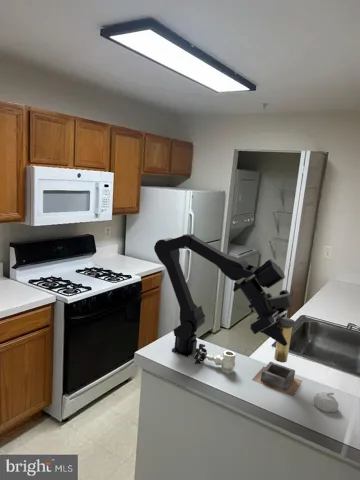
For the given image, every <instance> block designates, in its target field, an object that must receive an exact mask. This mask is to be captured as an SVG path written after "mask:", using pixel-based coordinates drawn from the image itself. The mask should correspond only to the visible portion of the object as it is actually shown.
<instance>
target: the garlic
mask: <svg viewBox="0 0 360 480" xmlns="http://www.w3.org/2000/svg"><path fill="white" fill-rule="evenodd" d="M334 396H335V393H334V392H318V393H316V395H315V396H314V398H313V406H315V407H316V408H317V409H318V410H321V411H322V412H324V413H335V412H337V411H339V403H338V401H337V400H336V398H335V397H334Z"/></svg>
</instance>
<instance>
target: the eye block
mask: <svg viewBox="0 0 360 480" xmlns="http://www.w3.org/2000/svg"><path fill="white" fill-rule="evenodd" d="M295 375H296V370H295V369H293V368H290V367H287V366H284V365H281V364H278V363H276V362H273V361H269V362H268V364H266V366H262V367H261V369H259V371H258V372H257V373H256V375H254V377H252V379H251V381H253V382H255V383H258V384H262V385H263V386H266V387H269V388H271V389H274V390H276V391H279V392H281V393H284V394H286V395H289V396H291V397H294V396H295V394H296V392H297V391H298V389H299V387H300V386H301V384H302V382H303V380H301V379H299V378H296V377H295Z"/></svg>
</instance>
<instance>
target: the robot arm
mask: <svg viewBox="0 0 360 480" xmlns="http://www.w3.org/2000/svg"><path fill="white" fill-rule="evenodd" d="M183 248H187V249H189V250H191V251H192V252H194V253H195V254H197V255H199V256H201V257H202V258H204V259H206V260H207V261H209V262H211V263H212V264H214V265H215V266H216V267H218V268H219V270H220V272H221V273H223V274H224V275H225V276H226V277H227V278H228V279H230V280H231V281H234V283H233V284H234V285H233V289H232V291H233V292H234V293H235V292H238V291H241V293H242V294H243V296H244V297H245V299H246V301H247V302H248V303H249V305H248V307H249V309H253V310H254V312H255V313H256V315H257V317H256V320H255V321H253V322H252V323H251V324H250V330H251V332H252V334H253V335H256V334H258V333H261V334H264V335H266V336H267V337H269V338H271V339H273V340H274V341H276V343H277V342H279V343H280V344H282V345H283V346H286V345H287V342H286V339H285V338H284V336H283V334H282V332H281V330H280V328H279V321H280V320H278V318H280V317H285V318H287V316H288V315H287V314H288V312H287V311H288V310H290V308H291V306H293V305H294V302H293V298H294V296H293V295H292V293H291V292H289V291H288V290H287V289H282V290H280V291H279V294H277V295H275V296H274V295H273V296H272V293H269V292H266V291H265V289H264V288H267V289H271V288H272V287H274V285H276V284H278V283H279V282H281V281H282V280H284V279H285V278H286V276H285V273H284V271H283V270H282V268H281V267H280V266H278V264H277V263H275V262H274V261H273V260H272V259H271V258H269V259H268V260H266V261H265V262H264V263H263V264H262V265H261V266H259V267H257V266H256V265H252V264H249V263H248V261H247V260H245V259H243V258H240V257H238V256H234V255H231V254H227V253H224V252H222V251H221V250H219V249H217V248H215V247H214V246H212V245H210V244H209V243H208V242H206V241H204V240H202V239H200V238H199V237H197V236H196V235H194V234H193V233H185V234H183V235H181V236H177V237H175V238H172V237H168V238H163V239H162V238H161V239H158V240H157V241H156V242H155V245H154V246H153V250H154V253H155V254H156V256H157V258H158V260H159V262H161V264H162V265H163V266H164V267H165V268H166V272H167V274H168V277H169V280H170V283H171V287H172V289H173V292H174V294H175V297H176V300H177V303H178V306H179V323H180V324H179V325H178V326H176V327H175V328H174V329H173V331H172V332H173V334H174V335H173V336H174V337H175V339H174V347H172V348H171V351H172V352H174V353H176V354H178V355H181V356H183V357H186V358H189V357H190V356H192V355H193V354H194V353H197V352H196V349H197V346H198V340H197V334H196V332H198V331H199V330H200V329H201V328H203V326H204V325H205V323H206V321H205V318H206V315H205V313H204V311H203V307H202V305H199V306H198V305H197V304H195V302H194V300H193V297H192V295H191V291H190V289H189V286H188V283H187V280H186V277H185V275H184V272H183V269H182V267H181V262H180V256H181V255H180V254H181V251H180V250H181V249H183ZM253 275H254V276H253ZM252 276H253V277H252ZM241 279H243V280H241ZM240 280H241V281H240ZM235 281H236V282H235ZM284 312H285V313H284ZM291 340H292V337H291V338H290V342H291Z"/></svg>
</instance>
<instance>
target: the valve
mask: <svg viewBox="0 0 360 480" xmlns="http://www.w3.org/2000/svg"><path fill="white" fill-rule="evenodd" d="M207 351H208V350H207V349H206V344H204V343H199V344H198V348H197V347H196V352H195V353H196V354H194V356H193V358H194V365H201V363H203V362H204V361H205V360H206V359H207V360H208V361H211V362H213V363H214V364H215V365H216V366H221V371H222V372H223V373H226V374H227V375H228V374H232V373H234V369H235V367H236V353H235V352H234V351H232V350H225V351H223V353H222V355H220V354H217V355H216V356H215V355H214V354H208V352H207Z"/></svg>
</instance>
